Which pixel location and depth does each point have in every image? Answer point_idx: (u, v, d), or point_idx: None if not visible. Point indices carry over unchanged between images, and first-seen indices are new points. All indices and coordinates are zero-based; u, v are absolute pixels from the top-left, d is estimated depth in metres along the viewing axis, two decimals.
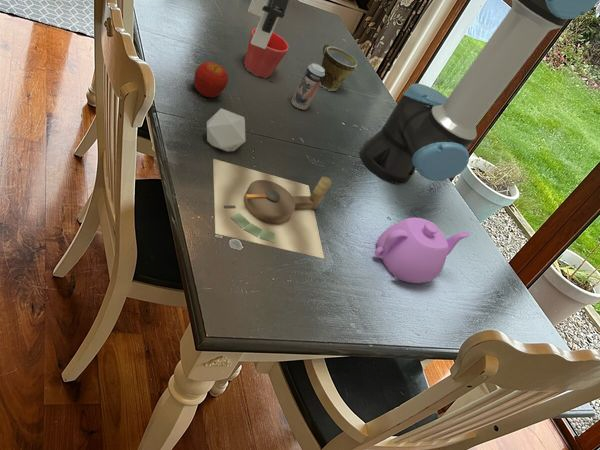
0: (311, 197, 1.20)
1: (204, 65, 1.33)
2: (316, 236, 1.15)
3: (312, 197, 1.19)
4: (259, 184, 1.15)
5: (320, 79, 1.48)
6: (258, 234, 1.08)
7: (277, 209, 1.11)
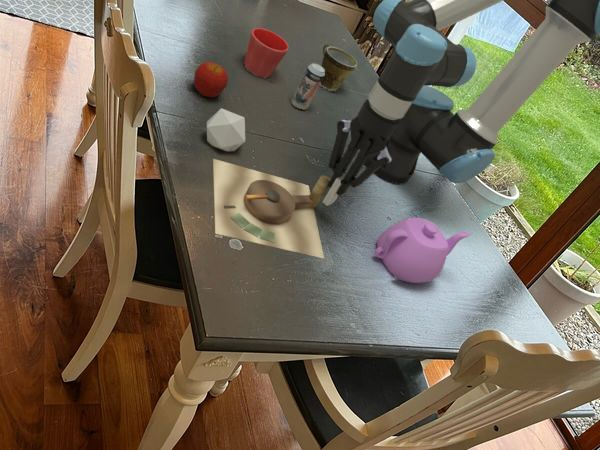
0: (310, 196, 1.20)
1: (204, 65, 1.33)
2: (316, 236, 1.15)
3: (311, 196, 1.19)
4: (259, 184, 1.15)
5: (320, 79, 1.48)
6: (258, 234, 1.08)
7: (277, 209, 1.12)
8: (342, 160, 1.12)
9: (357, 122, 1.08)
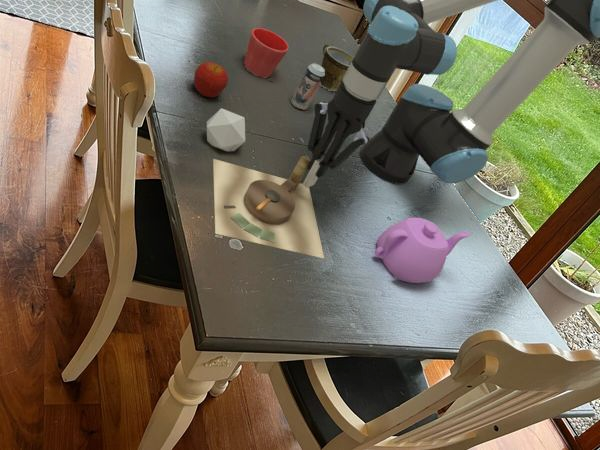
0: (293, 179, 1.21)
1: (204, 65, 1.33)
2: (316, 236, 1.15)
3: (294, 178, 1.21)
4: (254, 189, 1.13)
5: (320, 79, 1.48)
6: (258, 234, 1.08)
7: (285, 208, 1.13)
8: (320, 142, 1.14)
9: (333, 104, 1.10)
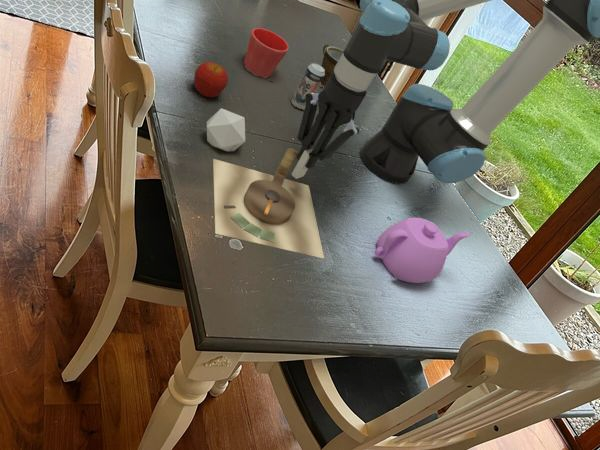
0: (281, 172, 1.21)
1: (204, 65, 1.33)
2: (316, 236, 1.15)
3: (283, 171, 1.21)
4: (254, 192, 1.12)
5: (320, 79, 1.48)
6: (258, 234, 1.08)
7: (287, 205, 1.14)
8: (310, 132, 1.15)
9: (324, 95, 1.10)
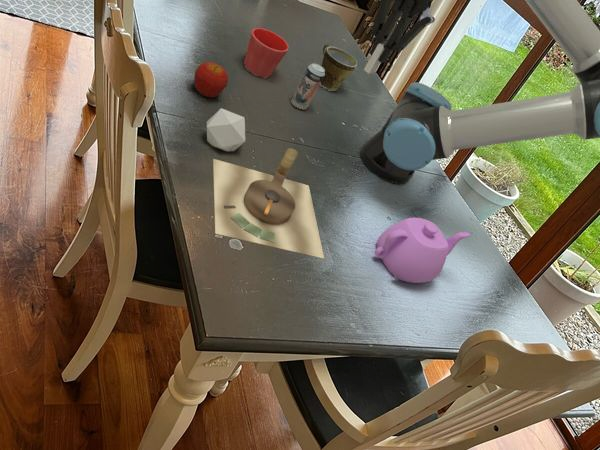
0: (281, 172, 1.21)
1: (204, 65, 1.33)
2: (316, 236, 1.15)
3: (283, 171, 1.21)
4: (254, 192, 1.12)
5: (320, 79, 1.48)
6: (258, 234, 1.08)
7: (287, 205, 1.14)
8: (385, 24, 1.20)
9: None
